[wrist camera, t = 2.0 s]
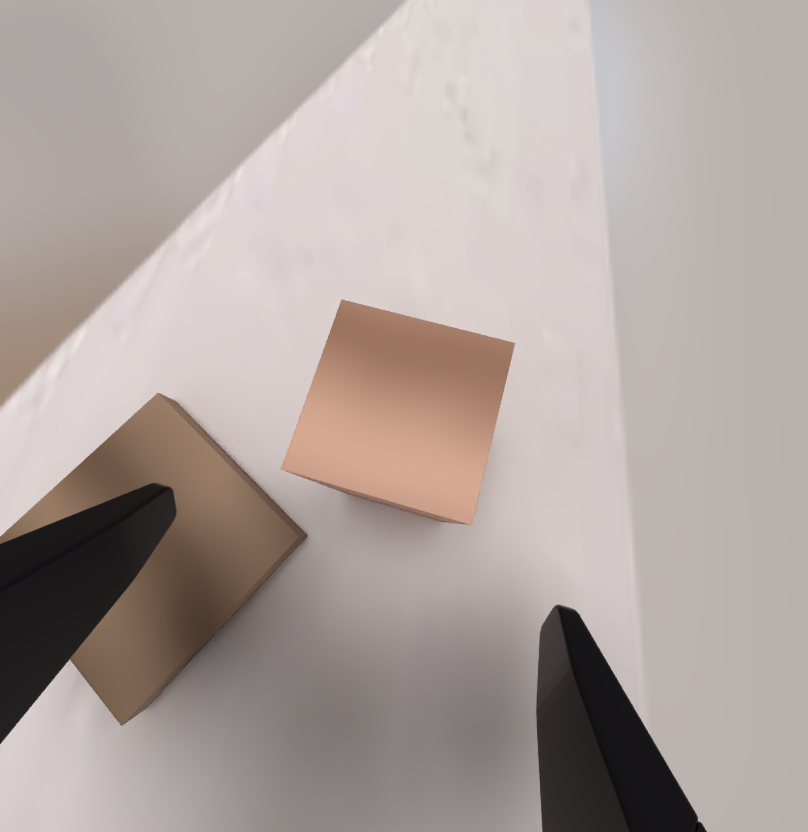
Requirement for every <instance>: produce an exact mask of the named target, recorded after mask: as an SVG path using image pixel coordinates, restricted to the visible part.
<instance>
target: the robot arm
mask: <svg viewBox="0 0 808 832" xmlns="http://www.w3.org/2000/svg"><path fill="white" fill-rule="evenodd" d="M176 513H177V508H176V502H175V496H174V491H173V489H172V487H170V486H168V485H164V484H161V483H157V482H154V483H150V484H147V485H145V486H142V487H140V488H137V489H135V490H132V491H130V492H127V493H125V494H123V495H120V496H118V497H115V498H113V499H110V500H108V501H105V502H103V503H100V504H98V505H95V506H93V507H90V508H88V509H85V510H83V511H80V512H78V513H75V514H73V515H70V516H68V517H65V518H63V519H60V520H58V521H55V522H53V523H50V524H48V525H45V526H43V527H40V528H38V529H35V530H33V531H30V532H28V533H26V534H23V535H21V536H18V537H16V538H13V539H11V540H8V541H6V542H3V543H1V544H0V744H1V743H2V741H3V740H4V739H5V738H6V737H7V735H8V734H9V733H10V732H11V730H12V729H13V728H14V727H15V726H16V724H17V723H18V722H19V721H20V719H21V718H22V717H23V716H24V714H25V713H26V712H27V711H28V710H29V708H30V707H31V706H32V705H33V703H34V702H35V701H36V700H37V699H38V697H39V696H40V695H41V694H42V692H43V691H44V690H45V689H46V688H47V686H48V685H49V684H50V683H51V681H52V680H53V679H54V678H55V676H56V675H57V674H58V673H59V672H60V670H61V669H62V668H63V667H64V665H65V664H66V663H67V662H68V661H69V659H70V658H71V657H72V656H73V654H74V653H75V652H76V651H77V650H78V648H79V647H80V646H81V645H82V643H83V642H84V641H85V640H86V638H87V637H88V636H89V635H90V634H91V632H92V631H93V630H94V629H95V627H96V626H97V625H98V624H99V623H100V621H101V620H102V619H103V618H104V616H105V615H106V614H107V613H108V612H109V610H110V609H111V608H112V607H113V605H114V604H115V603H116V602H117V600H118V599H119V598H120V597H121V596H122V594H123V593H124V592H125V591H126V589H127V588H128V587H129V586H130V584H131V583H132V582H133V581H134V579H135V578H136V577H137V575H138V574H139V572H140V571H141V569H142V568H143V566H144V565H145V563H146V562H147V560H148V559H149V557H150V556H151V555H152V553H153V552H154V550H155V549H156V547H157V546H158V544H159V543H160V541H161V540H162V538H163V537H164V535H165V534H166V532H167V531H168V529H169V528H170V526H171V525H172V523H173V521H174V520H175V517H176ZM536 716H537V738H538V757H539V775H540V794H541V812H542V831H543V832H707V831H706V830H705V828H704V826H703V825H702V823H701V822H698V817H697V815H696V813H695V811H694V810H693V808H692V806H691V805H690V803H689V801H688V799H687V798H686V796H685V794H684V792H683V791H682V789H681V787H680V786H679V784H678V782H677V780H676V779H675V777H674V776H673V774H672V772H671V770H670V769H669V767H668V765H667V763H666V762H665V760H664V759H663V757H662V755H661V753H660V752H659V750H658V748H657V746H656V745H655V743H654V741H653V740H652V738H651V736H650V734H649V733H648V731H647V729H646V728H645V726H644V724H643V722H642V721H641V719H640V717H639V716H638V714H637V712H636V711H635V709H634V707H633V705H632V704H631V702H630V700H629V699H628V697H627V695H626V694H625V692H624V690H623V688H622V687H621V685H620V683H619V682H618V680H617V678H616V676H615V675H614V673H613V671H612V670H611V668H610V666H609V665H608V663H607V661H606V659H605V658H604V656H603V654H602V653H601V651H600V649H599V647H598V646H597V644H596V642H595V641H594V639H593V637H592V636H591V634H590V632H589V630H588V629H587V627H586V625H585V624H584V622H583V620H582V619H581V617H580V615H579V614H578V612H577V611H576V610H574V609H572V608H569V607H566V606H562V605H556V606H554V608H553V609H552V611H551V612H550V614H549V615H548V617H547V618H546V620H545V621H544V623H543V625H542V627H541V631H540V643H539V663H538V682H537V706H536Z"/></svg>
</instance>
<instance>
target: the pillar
mask: <svg viewBox="0 0 808 832" xmlns="http://www.w3.org/2000/svg"><path fill="white" fill-rule="evenodd" d="M514 345H515V343H513V342H509V341H505V340H501V339H497V338H493V337H489V336H485V335H481V334H477V333H473V332H469V331H465V330H461V329H457V328H453V327H449V326H445V325H441V324H437V323H433V322H429V321H425V320H421V319H417V318H413V317H409V316H405V315H401V314H397V313H393V312H389V311H385V310H381V309H377V308H373V307H369V306H365V305H361V304H357V303H353V302H349V301H345V300H341V303H340V306H339V308H338V311H337V314H336V317H335V320H334V322H333V325H332V328H331V331H330V334H329V336H328V339H327V342H326V345H325V348H324V350H323V353H322V356H321V359H320V361H319V364H318V367H317V370H316V373H315V375H314V378H313V381H312V384H311V387H310V389H309V392H308V395H307V398H306V401H305V403H304V406H303V409H302V412H301V415H300V417H299V420H298V423H297V426H296V429H295V431H294V434H293V437H292V440H291V443H290V445H289V448H288V451H287V454H286V457H285V459H284V462H283V465H282V468H281V469H282V470H284V471H287V472H290V473H292V474H295V475H298V476H301V477H303V478H306V479H309V480H311V481H314V482H317V483H319V484H322V485H325V486H328V487H330V488H333V489H336V490H338V491H341V492H344V493H347V494H350V495H354V496H357V497H360V498H364V499H367V500H371V501H374V502H377V503H381V504H384V505H388V506H391V507H394V508H398V509H401V510H405V511H408V512H411V513H415V514H418V515H422V516H425V517H428V518H432V519H435V520H439V521H442V522H450V523H458V524H467V525H472V521H473V516H474V512H475V508H476V504H477V500H478V496H479V491H480V487H481V483H482V479H483V475H484V470H485V466H486V462H487V458H488V454H489V450H490V445H491V441H492V437H493V433H494V429H495V425H496V420H497V416H498V412H499V408H500V404H501V399H502V395H503V391H504V387H505V383H506V379H507V374H508V370H509V366H510V362H511V358H512V354H513V349H514Z"/></svg>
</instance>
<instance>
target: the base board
mask: <svg viewBox="0 0 808 832" xmlns="http://www.w3.org/2000/svg"><path fill="white" fill-rule="evenodd" d="M154 482H157V483H161V484H164V485H168V486H170V487H172V489H173V491H174V496H175V502H176V508H177V513H176V517H175V520H174V521H173V523H172V525H171V526H170V528H169V529H168V531H167V532H166V534H165V535H164V537H163V538H162V540H161V541H160V543H159V544H158V546H157V547H156V549H155V550H154V552H153V553H152V555H151V556H150V557H149V559H148V560H147V562H146V563H145V565H144V566H143V568H142V569H141V571H140V572H139V574H138V575H137V577H136V578H135V579H134V581H133V582H132V583H131V584H130V586H129V587H128V588H127V589H126V591H125V592H124V593H123V594H122V596H121V597H120V598H119V599H118V600H117V602H116V603H115V604H114V605H113V607H112V608H111V609H110V610H109V612H108V613H107V614H106V615H105V616H104V618H103V619H102V620H101V621H100V623H99V624H98V625H97V626H96V627H95V629H94V630H93V631H92V632H91V634H90V635H89V636H88V637H87V638H86V640H85V641H84V642H83V643H82V645H81V646H80V647H79V648H78V650H77V651H76V652H75V653H74V654H73V656H72V657H71V658H70V660H71V661H72V663H73V664H74V665H75V666H76V668H77V669H78V670H79V672H80V673H81V674H82V676H83V677H84V678H85V679H86V681H87V682H88V683H89V685H90V686H91V687H92V688H93V690H94V691H95V692H96V694H97V695H98V696H99V697H100V699H101V700H102V701H103V703H104V704H105V705H106V706H107V708H108V709H109V710H110V712H111V713H112V714H113V716H114V717H115V718H116V719H117V721H118V722H119V723H120V725H121V726H122V725H124V724H125V723H126V722H128V721H129V720H131V719H132V718H133V717H135V716H136V715H138V714H139V713H140V712H142V711H143V710H145V709H146V708H147V707H148V706H149V704H150V703H151V702H152V701H153V700H154V699H155V698H156V697H157V696H158V695H159V694H160V693H161V692H162V691H163V689H164V688H165V687H166V686H167V685H168V684H169V683H170V682H171V681H172V680H173V679H174V678H175V677H176V676H177V675H178V673H179V672H180V671H181V670H182V669H183V668H184V667H185V666H186V665H187V664H188V663H189V662H190V661H191V660H192V658H193V657H194V656H195V655H196V654H197V653H198V652H199V651H200V650H201V649H202V648H203V647H204V646H205V645H206V644H207V642H208V641H209V640H210V639H211V638H212V637H213V636H214V635H215V634H216V633H217V632H218V631H219V630H220V629H221V627H222V626H223V625H224V624H225V623H226V622H227V621H228V620H229V619H230V618H231V617H232V616H233V615H234V614H235V612H236V611H237V610H238V609H239V608H240V607H241V606H242V605H243V604H244V603H245V602H246V601H247V600H248V599H249V598H250V596H251V595H252V594H253V593H254V592H255V591H256V590H257V589H258V588H259V587H260V586H261V585H262V584H263V583H264V581H265V580H266V579H267V578H268V577H269V576H270V575H271V574H272V573H273V572H274V571H275V570H276V569H277V568H278V567H279V565H280V564H281V563H282V562H283V561H284V560H285V559H286V558H287V557H288V556H289V555H290V554H291V553H292V552H293V550H294V549H295V548H296V547H297V546H298V545H299V544H300V543H301V542H302V541H303V540H304V539H305V538H306V537H307V534H306V533H305V532H304V531H303V530H302V529H301V528H300V527H299V526H298V525H297V524H296V523H295V522H294V521H293V520H292V519H291V518H290V517H289V516H288V515H287V514H286V513H285V512H284V511H283V510H282V509H281V508H280V507H279V506H278V505H277V504H276V503H275V502H274V501H273V500H272V499H271V498H270V497H269V496H268V495H267V494H266V493H265V492H264V491H263V490H262V489H261V488H260V487H259V486H258V485H257V484H256V483H255V482H254V481H253V480H252V479H251V478H250V476H249V475H248V474H247V473H246V472H245V471H244V470H243V469H242V468H241V467H240V466H239V465H238V464H237V463H236V462H235V461H234V460H233V459H232V458H231V457H230V456H229V455H228V454H227V453H226V452H225V451H224V450H223V449H222V448H221V447H220V446H219V445H218V444H217V443H216V442H215V441H214V440H213V439H212V438H211V437H210V436H209V435H208V434H207V433H206V432H205V431H204V430H203V429H202V428H201V427H200V426H199V425H198V424H197V423H196V422H195V421H194V420H193V418H192V417H191V416H190V415H189V414H188V413H187V412H186V411H185V410H184V409H183V408H182V407H181V406H180V405H179V404H178V403H177V402H176V401H174V400H172V399H170V398H168V397H166V396H164V395H162V394H160V393H157V394H156V395H155V396H154V397H153V398H152V399H151V400H150V401H149V402H147V403H146V404H145V405H144V406H143V407H142V408H141V409H140V410H139V411H138V412H137V413H135V414H134V415H133V416H132V417H131V418H130V419H129V420H128V421H127V422H126V423H124V424H123V425H122V426H121V427H120V428H119V429H118V430H117V431H116V432H115V433H113V434H112V435H111V436H110V437H109V438H108V439H107V440H106V441H105V442H104V443H103V444H101V445H100V446H99V447H98V448H97V449H96V450H95V451H94V452H93V453H92V454H90V455H89V456H88V457H87V458H86V459H85V460H84V461H83V462H82V463H81V464H79V465H78V466H77V467H76V468H75V469H74V470H73V471H72V472H71V473H70V474H69V475H67V476H66V477H65V478H64V479H63V480H62V481H61V482H60V483H59V484H58V485H56V486H55V487H54V488H53V489H52V490H51V491H50V492H49V493H48V494H47V495H45V496H44V497H43V498H42V499H41V500H40V501H39V502H38V503H37V504H36V505H35V506H33V507H32V508H31V509H30V510H29V511H28V512H27V513H26V514H25V515H24V516H22V517H21V518H20V519H19V520H18V521H17V522H16V523H15V524H14V525H13V526H11V527H10V528H9V529H8V530H7V531H6V532H5V533H4V534H3V535H2V536H1V537H0V544H1V543H3V542H6V541H8V540H11V539H13V538H16V537H18V536H21V535H23V534H26V533H28V532H30V531H33V530H35V529H38V528H40V527H43V526H45V525H48V524H50V523H53V522H55V521H58V520H60V519H63V518H65V517H68V516H70V515H73V514H75V513H78V512H80V511H83V510H85V509H88V508H90V507H93V506H95V505H98V504H100V503H103V502H105V501H108V500H110V499H113V498H115V497H118V496H120V495H123V494H125V493H127V492H130V491H132V490H135V489H137V488H140V487H142V486H145V485H147V484H150V483H154Z"/></svg>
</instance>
